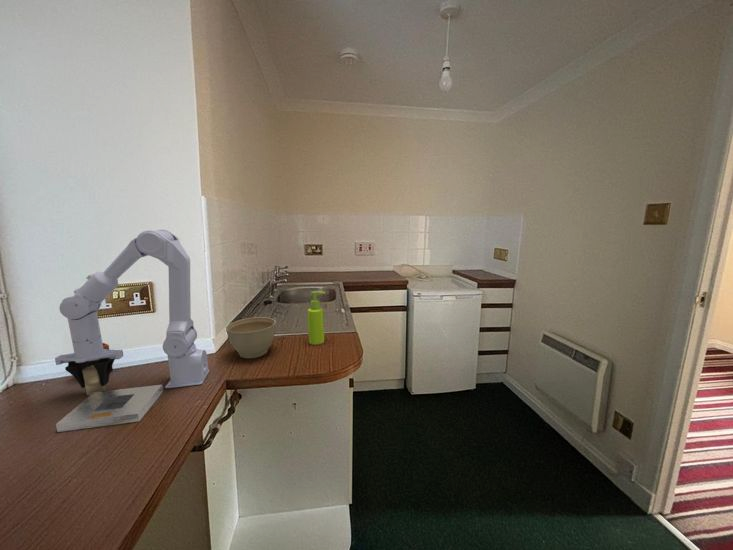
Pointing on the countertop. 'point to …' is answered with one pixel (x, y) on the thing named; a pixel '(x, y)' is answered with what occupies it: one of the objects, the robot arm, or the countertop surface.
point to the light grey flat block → (111, 408)
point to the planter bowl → (251, 336)
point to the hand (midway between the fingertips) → (95, 385)
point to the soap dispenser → (316, 320)
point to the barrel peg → (92, 380)
